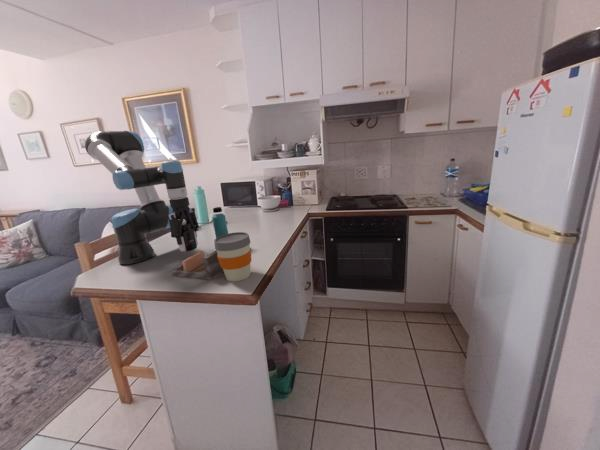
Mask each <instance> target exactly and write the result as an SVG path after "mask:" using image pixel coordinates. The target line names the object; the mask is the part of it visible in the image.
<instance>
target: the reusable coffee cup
mask: <svg viewBox="0 0 600 450" xmlns="http://www.w3.org/2000/svg"><path fill="white" fill-rule="evenodd" d="M228 233H229V232H228ZM214 249H215V251H216V250H217V253H218V255H217V257H218V260H219V263H220V266H221V268H223V273H224V277H225V278H226V281H229V282H240V281H243V280H245V279H248V278H249V277H250V276H251V274H252V273H251V263H252V248H251V238H250V236H249V233H247V232H242V231H239V232H238V231H236V232H230V233H229V234H225V235H222V236H219V237H217V238H216V237H215V238H214Z"/></svg>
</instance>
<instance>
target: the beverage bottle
mask: <svg viewBox="0 0 600 450" xmlns="http://www.w3.org/2000/svg"><path fill="white" fill-rule="evenodd" d="M212 211H213V212H212V213H215V214H213V215H212V217H211V218H212V224H213V228H214V233H215V239H216V238H217V237H219V236H222V235H225V234H229V230H228V226H227V219H226V215H225V214H224V213H221V212H223V209H222V207H220V206H218V207H217V206H216V207H214V208H212Z"/></svg>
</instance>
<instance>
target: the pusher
mask: <svg viewBox="0 0 600 450" xmlns="http://www.w3.org/2000/svg"><path fill="white" fill-rule="evenodd" d="M205 256H206V255H205V251H204V250H200V251H198V252H196V253H195V254H192V255H191V256H189V257H187V258H186V259H184V260H182V261H181V263H182V265H183V268H184V271H189V272H190V271H192V270H194V269H195V268H197V267H198V266H200V265H202V264H203V263H204V261H203V258H204V257H205Z"/></svg>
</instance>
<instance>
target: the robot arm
mask: <svg viewBox="0 0 600 450" xmlns="http://www.w3.org/2000/svg"><path fill="white" fill-rule="evenodd" d="M84 148H85V151H86V153H87V154H88V155H89V156H90V157H91V158H92V159H94V160H95V161H98V162H99V163H101V165H103V166H104V168H106V170H108V171H109V173H111V174H112V181H113V184H114V186H115V187H116V188H117V190H119V191H124V190H133V189H134V190H135V193H136V195H137V197H138V199H139V201H140V205H141V206H140V207H139V209H138V208H132V209H126V210H123V211H121V212H118V213H115V214H114V215H113V216H111V219H110V220H111V225H112V228H113V231H114V234H115V238H116V241H117V244H118V245H117V246H118V257H117V259H118V262H119V263H120V264H119V265H121V264H130V265H133V264H132V263H135V264H138V263H137V262H139V263H142V262H141V261H143V262H145V261H148V260H150V259H152V258H153V257H155V256H156V252H155V250H154V248H153V247H152V245H151V244H150V243H149V241H148V238H147V235H149V234H151V233H156V232H159V231H162V230H167V229H170V230H169V231H170V236H171V238H175V240H176V244H177V245H178V248H179V251H180V252H187V251H186V248H185V243H184V239H183V237H181V234H182V223H184V221H185V222H190V224H191V228H193V229H194V232H195V238H196V243H197V246H198V245H199V242H198V234H197V231H199V227H200V226H199V222H198V219H197V216H196V208H195V207H190V201H189V200H190V199H189V197H188V191H187V187H186V179H185V175H184V169H183V167H182V162H181V161H179V160H168V161H167V160H166V161H162V162H161V165H159V166H152V167H146V165H145V164H144V161H143V157H144V153H145V146H144V141H143V140H142V137H141V136H140V135H139V134H138V133H137V132H135V131H132V130H117V131H116V130H114V131H113V130H112V131H111V130H107V131H105V130H102V131H101V130H99V131H95V132H93V133H91V134H90V135H88V137H86V140H85V143H84ZM158 185H165V187H166V192H167V196H168V199H169V200H168V201H169V204H166V202H165V200H163V199H161V198H160V196H159V195H158V191H157V190H156V188H155V186H158ZM151 257H152V258H151ZM149 258H150V259H149ZM147 259H148V260H147ZM144 260H145V261H144Z"/></svg>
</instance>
